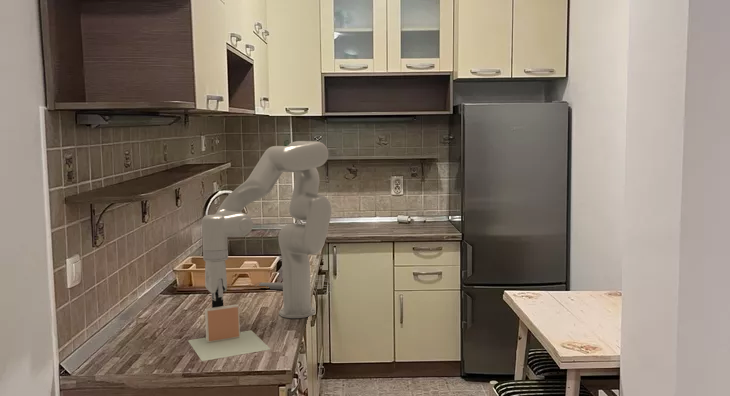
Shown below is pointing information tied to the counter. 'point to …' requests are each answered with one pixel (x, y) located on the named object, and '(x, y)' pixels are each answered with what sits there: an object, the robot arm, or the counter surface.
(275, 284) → the kitchen whisk
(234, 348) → the mat
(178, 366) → the counter surface
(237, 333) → the tile
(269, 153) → the robot arm
